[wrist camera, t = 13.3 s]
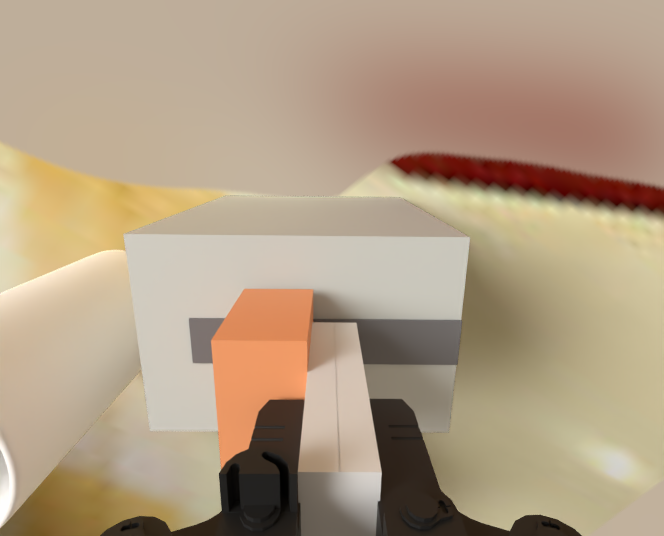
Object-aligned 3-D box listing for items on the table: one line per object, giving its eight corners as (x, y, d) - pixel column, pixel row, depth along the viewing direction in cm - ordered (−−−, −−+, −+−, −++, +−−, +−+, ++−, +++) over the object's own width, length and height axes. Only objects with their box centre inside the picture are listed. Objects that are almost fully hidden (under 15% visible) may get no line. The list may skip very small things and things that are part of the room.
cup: (203, 310, 29) (64, 480, 14) (127, 373, 31) (-75, 590, 15) (120, 226, 28) (-142, 314, 12) (44, 296, 29) (-278, 454, 14)
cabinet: (232, 309, 29) (150, 441, 16) (225, 195, 27) (121, 234, 14) (393, 310, 29) (448, 442, 16) (400, 197, 27) (470, 237, 14)
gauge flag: (249, 399, 15) (222, 483, 11) (244, 288, 14) (211, 340, 10) (313, 399, 15) (308, 483, 11) (313, 289, 14) (306, 341, 10)
